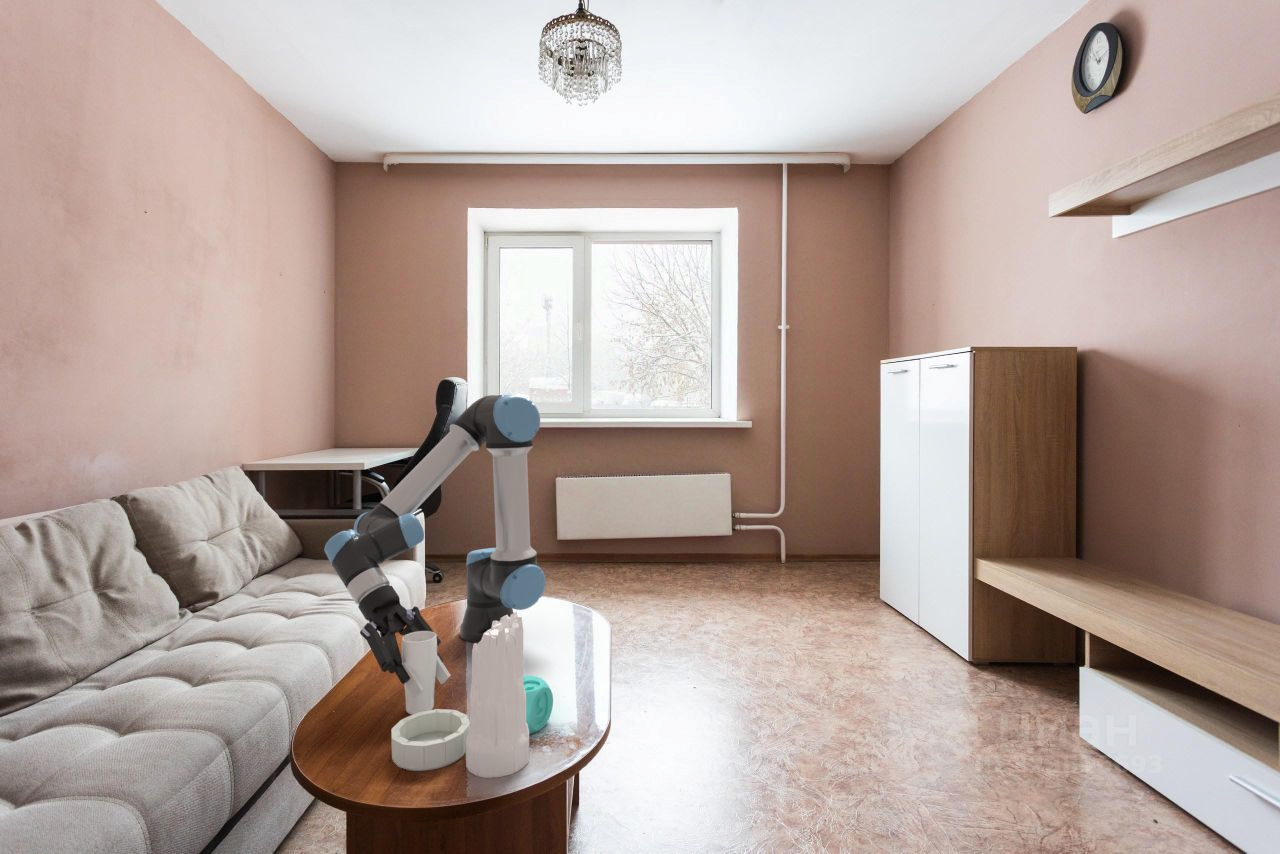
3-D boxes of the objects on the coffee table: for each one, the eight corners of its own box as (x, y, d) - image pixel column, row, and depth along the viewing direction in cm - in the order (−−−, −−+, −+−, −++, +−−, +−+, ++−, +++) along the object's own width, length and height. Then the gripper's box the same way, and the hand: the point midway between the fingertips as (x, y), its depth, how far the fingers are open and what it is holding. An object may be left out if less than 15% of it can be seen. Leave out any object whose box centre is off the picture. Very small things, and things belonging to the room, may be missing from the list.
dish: (439, 725, 121) (439, 703, 121) (484, 746, 113) (484, 722, 113) (376, 754, 111) (376, 730, 111) (421, 780, 103) (421, 753, 103)
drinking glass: (395, 710, 127) (395, 636, 127) (427, 699, 132) (426, 628, 132) (412, 721, 123) (411, 644, 122) (443, 709, 128) (443, 635, 127)
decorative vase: (470, 783, 102) (469, 630, 101) (461, 751, 112) (460, 611, 111) (536, 768, 106) (536, 621, 106) (522, 739, 116) (521, 603, 116)
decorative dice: (520, 711, 127) (519, 672, 127) (553, 720, 123) (553, 679, 123) (494, 729, 120) (494, 688, 119) (529, 739, 116) (529, 696, 116)
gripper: (401, 594, 143) (457, 679, 136) (324, 619, 125) (384, 718, 118) (418, 573, 140) (476, 658, 133) (342, 596, 123) (404, 695, 116)
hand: (432, 686), depth 126 cm, fingers closed on drinking glass, 6 cm apart
